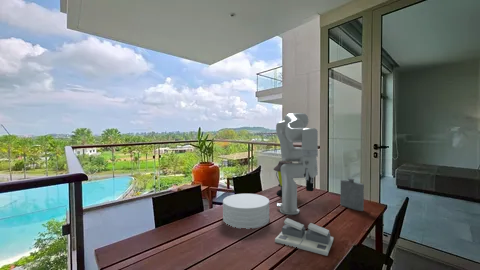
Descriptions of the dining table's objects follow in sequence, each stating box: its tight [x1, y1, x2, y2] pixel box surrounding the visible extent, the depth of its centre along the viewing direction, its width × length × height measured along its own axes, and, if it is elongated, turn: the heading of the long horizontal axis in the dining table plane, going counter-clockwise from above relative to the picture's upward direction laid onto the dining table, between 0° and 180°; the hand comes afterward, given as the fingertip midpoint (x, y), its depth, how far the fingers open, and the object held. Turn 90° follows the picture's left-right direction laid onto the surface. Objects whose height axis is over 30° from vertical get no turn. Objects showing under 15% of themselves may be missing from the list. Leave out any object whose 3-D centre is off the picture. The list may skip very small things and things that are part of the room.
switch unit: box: [274, 223, 335, 257], centre depth 112 cm, size 24×16×4 cm, turn 59°
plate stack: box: [222, 193, 270, 230], centre depth 140 cm, size 28×28×12 cm
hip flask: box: [339, 177, 365, 212], centre depth 157 cm, size 16×4×20 cm, turn 34°
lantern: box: [273, 159, 293, 197], centre depth 188 cm, size 25×19×30 cm
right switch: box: [307, 222, 330, 236], centre depth 110 cm, size 9×4×1 cm, turn 59°
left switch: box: [283, 217, 305, 230], centre depth 116 cm, size 9×4×1 cm, turn 59°
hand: (309, 190), depth 113 cm, fingers closed
